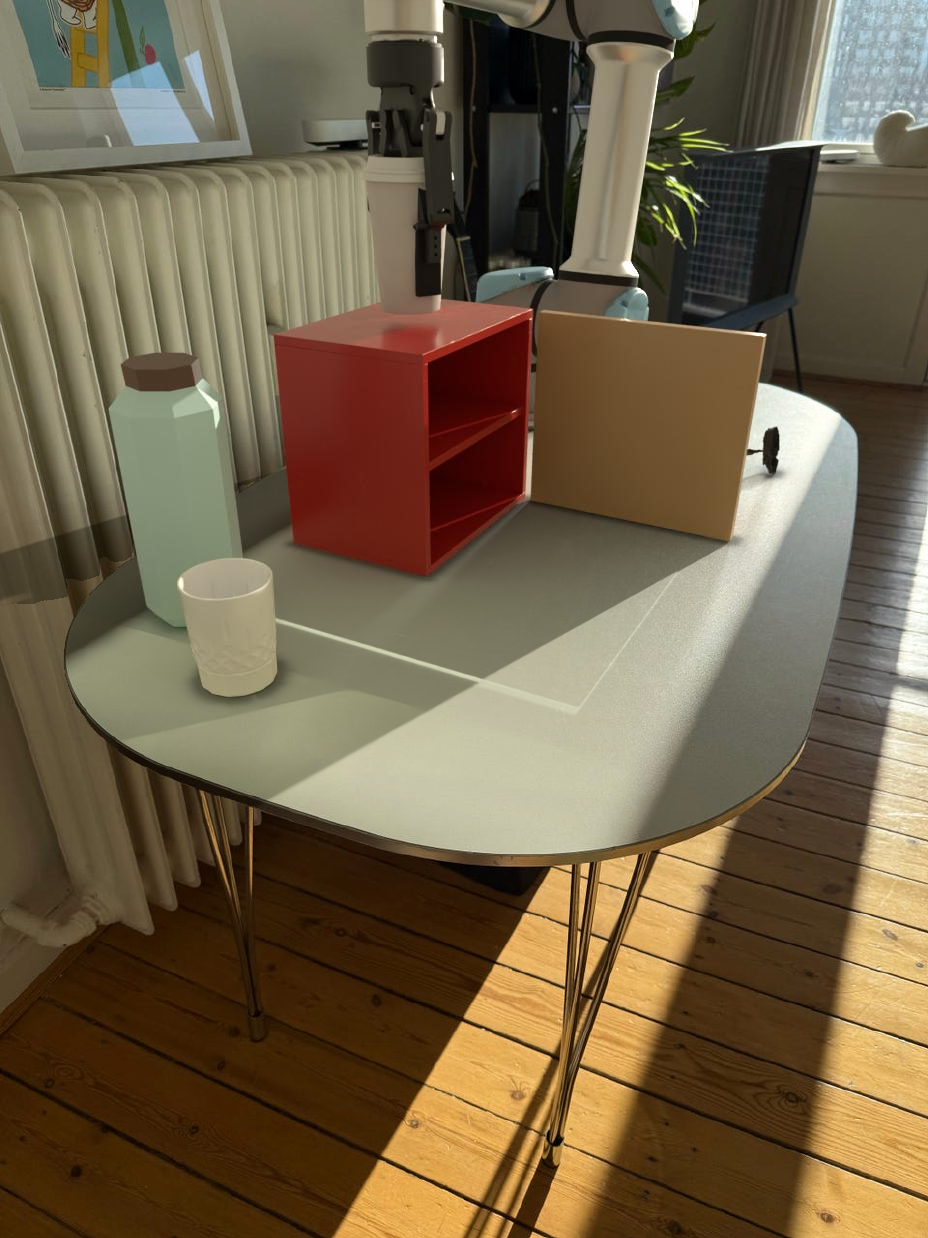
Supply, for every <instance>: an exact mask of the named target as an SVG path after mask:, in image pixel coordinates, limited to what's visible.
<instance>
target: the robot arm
mask: <svg viewBox="0 0 928 1238" xmlns="http://www.w3.org/2000/svg"><path fill="white" fill-rule="evenodd" d="M699 1H700V0H363V13H364V15H363V16H364V32H365V34H366V35H367V36H368V37H370V38H371V42H369V43H367V46H365V51H366V52H365V53H366V74H367V76H366V78H367V83H368V85H369V86H370V87H372V88H379V89H380V99H379V105H378V109H366V111H365V113H364V116H365V124H366V125H365V126H366V131H367V133H366V134H367V157H368V156H370V155H380V154H382V155H384V157H394V158H424V172H425V186H426V190H423V189H420V188H419V187H418V214H417V217H418V222H417V223H416V224H414V225H413V228H414V230H416V232H415V289H416V296H417V297H425V296H435V295H441V296H442V289H441V230H442V228H444V227H445V225H446V226H447V225H448V224H454V222H455V201H454V185H453V183H454V182H453V181H454V180H452V172H453V168H452V167H453V165H452V148H451V147H452V146H451V134H452V133H451V132H452V124H453V114H452V112H451V111H450V110H438V109H436V104H435V101H434V96H433V95H434V94H433V89H437V88H438V89H439V88H441V87H442V86H443V85H444V81H445V71H444V70H445V67H444V65H445V62H444V61H445V58H444V56H445V53H444V52H445V51H444V47H443V46H442V43H439V42H437V40H438V38H440V37H442V35H443V34H444V10H445V3H449V4H453V5H457V6H462V7H466V8H470V9H475V10H479V11H483V12H488V13H492V14H497V15H498V17H499V18H500V19H501V21H503V22H504V23H505V24H506V25H508V26H510V27H513V28H517V29H522V30H525V31H529V32H533V33H536V34H540V35H542V36H543V35H544V36H547V37H551V38H553V39H559V40H564V41H568V42H569V41H570V42H586V49H585V51H586V54H587V55H588V57H589V58H590V60H591V61H592V63H593V65H594V76H593V81H592V82H593V83H592V92H591V99H590V107H589V114H588V122H587V130H586V137H585V146H584V153H583V161H582V168H581V169H582V170H581V176H580V183H579V184H580V185H579V193H578V200H577V208H576V215H575V223H574V231H573V240H572V246H571V247H572V248H571V255H570V256H569V258H568V259H566V260H565V262H563V263H562V264H561V265H560V266H559V267H558V268H559V269H558V276H557V279H554V275H555V274H554V273H553V269H552V268H551V267H548V266H547V267H546V266H527V267H526V266H525V267H518V268H509V269H508V268H507V269H502V270H501V269H500V270H496V271H491V272H486V273H484V274H483V275H482V276H480V277H479V279H478V281H477V284H476V292H475V293H476V294H475V302H474V303H484V304H493V305H503V306H512V307H522V308H531V309H533V317H532V318H533V325H532V349H531V373H530V397H529V421H528V431H529V430H530V431H531V430H534V408H535V386H536V363H537V341H538V318H539V312H540V311H543V310H549V311H559V312H568V313H577V314H586V315H596V316H605V317H614V318H623V319H633V320H642V321H648V319H649V311H650V309H649V306H648V304H649V299H648V298H649V297H648V296H647V294H646V292H645V291H644V290H642V289H641V288H639V287H638V284H639V274H638V272H637V270H636V269H635V267H634V266H633V264H632V261H631V260H632V254H633V253H632V252H633V246H634V239H635V234H636V233H635V232H636V227H637V221H638V212H639V208H640V207H639V206H640V201H641V194H642V187H643V180H644V175H645V168H646V160H647V155H648V147H649V140H650V135H651V128H652V127H651V126H652V121H653V115H654V114H653V113H654V108H655V102H656V95H657V87H658V81H659V74H660V72H661V70H662V69H663V68H664V67H665V66H667V65H668V64H669V63H670V62H671V61H672V60H673V58H674V53H675V46H676V40H677V41H681V40H683V39H684V38H686V37H687V36H689V35H690V34H691V32H692V31H693V28H694V27H693V26H694V25H695V23H696V20H697V15H698V9H699V3H700V2H699ZM444 2H445V3H444ZM366 200H367V201H366V203H367V211H368V213H370V210H369V202H368V198H367V199H366ZM443 209H444V211H443Z"/></svg>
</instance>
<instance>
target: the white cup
mask: <svg viewBox="0 0 928 1238" xmlns="http://www.w3.org/2000/svg"><path fill="white" fill-rule="evenodd" d="M177 587H178V592H179V596H180V600H181V605H182V609H183V614H184V618H185V622H186V626H187V627H186V631H187V634H188V635H187V636H188V639H189V644H190V647H191V650H192V655H193V659H194V660H195V662H196V666H197V669H198V673H199V678H200V682H201V686H202V688H203V689H205V690H206V691H208V692H209V693H210V694H212V695H217V696H222V697H227V698H232V697H233V698H234V697H242V696H243V697H244V696H245V697H246V696H248V695H251V694H255V693H257V692H261V691H263V690H264V689H265V688H266V687H268V686H269V685H271V684H272V683H273V682H274V680H275V678H276V676H277V674H278V662H277V651H276V649H277V631H276V629H277V622H276V621H277V620H276V604H275V590H274V589H275V588H274V573H273V571H272V568H270V566H268V564H266V563H264V562H262V561H260V560H256V559H252V558H246V557H245V558H244V557H243V558H223V559H216V560H211V561H207V562H204V563H201V564H198V565H196V566H193V567H191V568H190V569H188V570H186V571H185V572H184V573H183V574H182V575H181V576H180V577H179V579H178V581H177Z"/></svg>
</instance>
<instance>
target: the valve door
mask: <svg viewBox="0 0 928 1238" xmlns="http://www.w3.org/2000/svg"><path fill="white" fill-rule="evenodd" d="M767 336H768V335H767V333H762V332H751V331H744V330H743V331H742V330H733V329H724V328H715V327H707V326H696V325H686V324H680V323H679V324H677V323H668V322H661V321H648V320H647V321H642V320H633V319H623V318H614V317H605V316H596V315H586V314H577V313H568V312H559V311H549V310H543V311H540V312H539V318H538V341H537V363H536V386H535V408H534V429H532V431H533V432H532V433H533V435H532V437H533V438H532V456H531V476H530V477H531V479H530V498H529V499H530V501H531V502H536V503H539V504H545V505H552V506H555V507H560V508H564V509H570V510H574V511H580V512H585V513H589V514H594V515H600V516H605V517H609V518H614V519H618V520H624V521H628V522H634V523H639V524H643V525H647V526H651V527H652V526H653V527H658V528H663V529H666V530H672V531H677V532H681V533H686V534H691V535H696V536H701V537H706V538H711V539H716V540H720V541H726V542H730V541H731V540H732V538H733V537H734V531H735V526H736V519H737V513H738V508H739V501H740V496H741V491H742V490H741V489H742V485H743V484H742V483H743V477H744V471H745V467H746V460H747V456H748V455H747V449H749V441H750V437H751V436H750V435H751V431H752V424H753V418H754V413H755V406H756V400H757V394H758V389H759V384H760V383H759V382H760V376H761V371H762V364H763V359H764V353H765V347H766V341H767ZM746 455H747V456H746Z"/></svg>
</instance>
